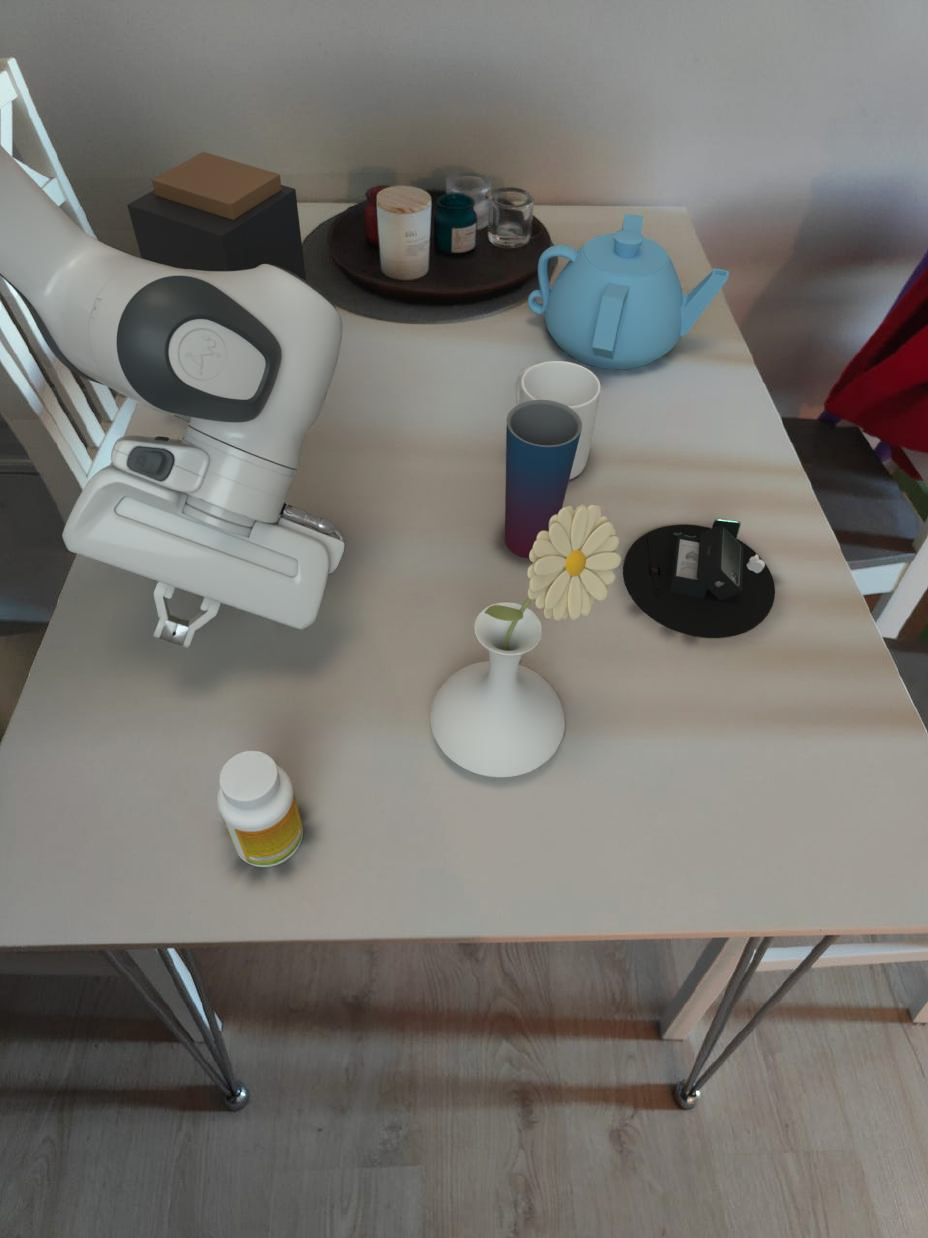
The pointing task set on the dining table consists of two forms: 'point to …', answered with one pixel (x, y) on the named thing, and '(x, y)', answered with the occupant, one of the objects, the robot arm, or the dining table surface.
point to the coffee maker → (218, 219)
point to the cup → (537, 468)
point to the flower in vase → (501, 688)
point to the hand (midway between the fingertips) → (171, 640)
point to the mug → (564, 397)
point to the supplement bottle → (259, 809)
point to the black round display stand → (699, 579)
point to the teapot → (619, 299)
